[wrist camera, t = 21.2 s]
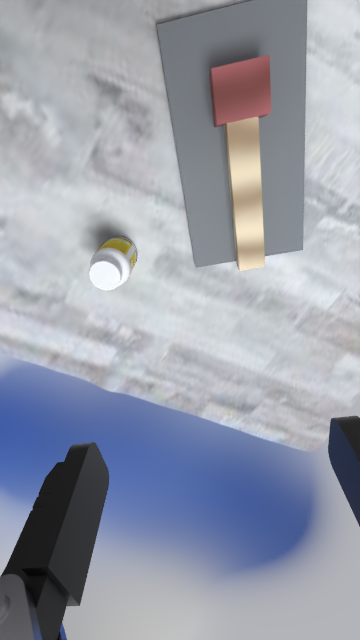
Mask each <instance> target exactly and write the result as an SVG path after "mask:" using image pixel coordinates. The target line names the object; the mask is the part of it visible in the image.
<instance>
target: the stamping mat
mask: <svg viewBox="0 0 360 640" xmlns="http://www.w3.org/2000/svg"><path fill="white" fill-rule="evenodd" d="M157 31H158V37H159V43H160V49H161V55H162V62H163V68H164V74H165V80H166V86H167V93H168V99H169V105H170V111H171V117H172V124H173V130H174V136H175V142H176V148H177V154H178V161H179V167H180V173H181V179H182V185H183V192H184V198H185V204H186V210H187V216H188V223H189V229H190V235H191V241H192V247H193V254H194V260H195V266H196V267H202V266H208V265H214V264H220V263H226V262H232V261H236V251H235V240H234V230H233V219H232V208H231V197H230V186H229V175H228V164H227V153H226V143H225V132H224V126H219V127H214V120H213V111H212V101H211V92H210V82H209V75H210V71H211V68H215V67H219V66H224V65H228V64H232V63H236V62H241V61H245V60H249V59H253V58H258V57H262V56H266V55H270V84H271V113H270V114H268V115H266V116H264V117H261V118H258V119H259V141H260V163H261V186H262V208H263V230H264V253H265V256H269V255H275V254H281V253H287V252H293V251H299V250H303V213H304V155H305V98H306V40H307V0H251V1H247V2H243V3H239V4H235V5H231V6H227V7H224V8H220V9H216V10H212V11H208V12H204V13H200V14H196V15H192V16H188V17H185V18H181V19H177V20H173V21H169V22H165V23H161V24H157Z"/></svg>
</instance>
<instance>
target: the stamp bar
mask: <svg viewBox="0 0 360 640" xmlns="http://www.w3.org/2000/svg"><path fill="white" fill-rule="evenodd" d="M209 82H210V92H211V101H212V111H213V120H214V127H219V126H224V132H225V143H226V153H227V164H228V175H229V186H230V197H231V208H232V219H233V230H234V240H235V251H236V262H237V266H238V268H239V270H240V271H241V270H248V269H254V268H260V267H265V253H264V230H263V208H262V186H261V163H260V141H259V119H258V118H261V117H264V116H266V115H268V114H270V113H271V84H270V55H266V56H262V57H258V58H253V59H249V60H245V61H241V62H236V63H232V64H228V65H224V66H219V67H215V68H211V71H210V75H209Z"/></svg>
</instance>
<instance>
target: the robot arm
mask: <svg viewBox="0 0 360 640" xmlns="http://www.w3.org/2000/svg"><path fill="white" fill-rule="evenodd" d="M328 452H329V458H330V461H331V465H332V467H333V470H334V472H335V474H336V476H337V478H338V480H339V483H340V485H341V487H342V489H343V491H344V494H345V496H346V498H347V500H348V502H349V504H350V507H351V509H352V511H353V513H354V515H355V517H356V519H357V521H358V524H359V526H360V418H359V417H358V416H349V417H339V418H332V419H331V422H330V434H329V445H328ZM108 486H109V473H108V468H107V466H106V464H105V462H104V460H103V457H102V455H101V453H100V451H99V449H98V447H97V445H96V443H94V442H92V443H83V444H74V445H72V446H71V447H70V449H69V451H68V453H67V456H66V458H65V461H64V462H59V463H57V464H56V465H55V467H54V468H53V469H52V470H51V472H50V473H49V474H48V475H47V476H46V478H45V480H44V483H43V485H42V487H41V489H40V492H39V497H37V499H36V501H35V503H34V505H33V510H32V511H31V512H30V514H29V517H28V519H27V521H26V523H25V526H24V528H23V531H22V532H21V535H20V537H19V539H18V541H17V544H16V546H15V548H14V551H13V553H12V555H11V557H10V559H9V562H8V564H7V566H6V568H5V570H4V572H3V573H2V575H1V577H0V640H67V638H66V634H65V630H64V626H63V624H62V620H63V617H64V613H65V609H66V606H80V603H81V598H82V594H83V590H84V586H85V582H86V578H87V573H88V569H89V565H90V561H91V557H92V553H93V548H94V544H95V540H96V536H97V532H98V528H99V523H100V519H101V515H102V511H103V507H104V503H105V499H106V495H107V490H108Z"/></svg>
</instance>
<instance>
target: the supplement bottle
mask: <svg viewBox="0 0 360 640" xmlns="http://www.w3.org/2000/svg"><path fill="white" fill-rule="evenodd" d="M136 261H137V250H136V247H135V245H134V244H133V243H132V242H131V241H130V240H129V239H127V238H125V237H121V236H116V237H112V238H110V239H109V240H107V241H106V242H105V243H104V244H103V245H102V246H101V248H100V249H99V250H98V251H97V252H96V253H95V254H94V255H93V257H92V259H91V263H90V271H89V276H90V280H91V282H92V283H93V284H94V285H95V286H96V287H97V288H99V289H101V290H112V289H114V288H116V287H117V286H120V285H122V284H123V283H124V282H125V281H126V280H127V279H128V277H129V275H130V273H131V271H132V269H133V267H134V265H135V263H136Z"/></svg>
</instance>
